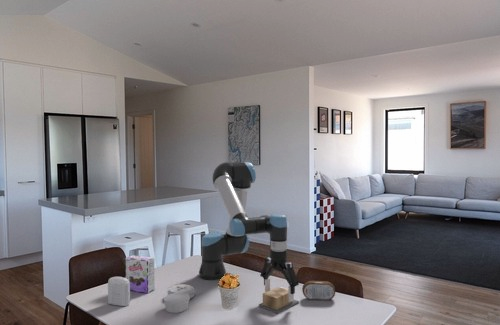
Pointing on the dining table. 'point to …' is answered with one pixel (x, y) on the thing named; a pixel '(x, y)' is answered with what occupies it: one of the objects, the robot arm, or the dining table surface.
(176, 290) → the lid
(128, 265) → the candy box
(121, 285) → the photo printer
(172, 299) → the ramekin
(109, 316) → the dining table surface
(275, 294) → the oak block
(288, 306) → the charcoal mat
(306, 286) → the tin
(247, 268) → the dining table surface
